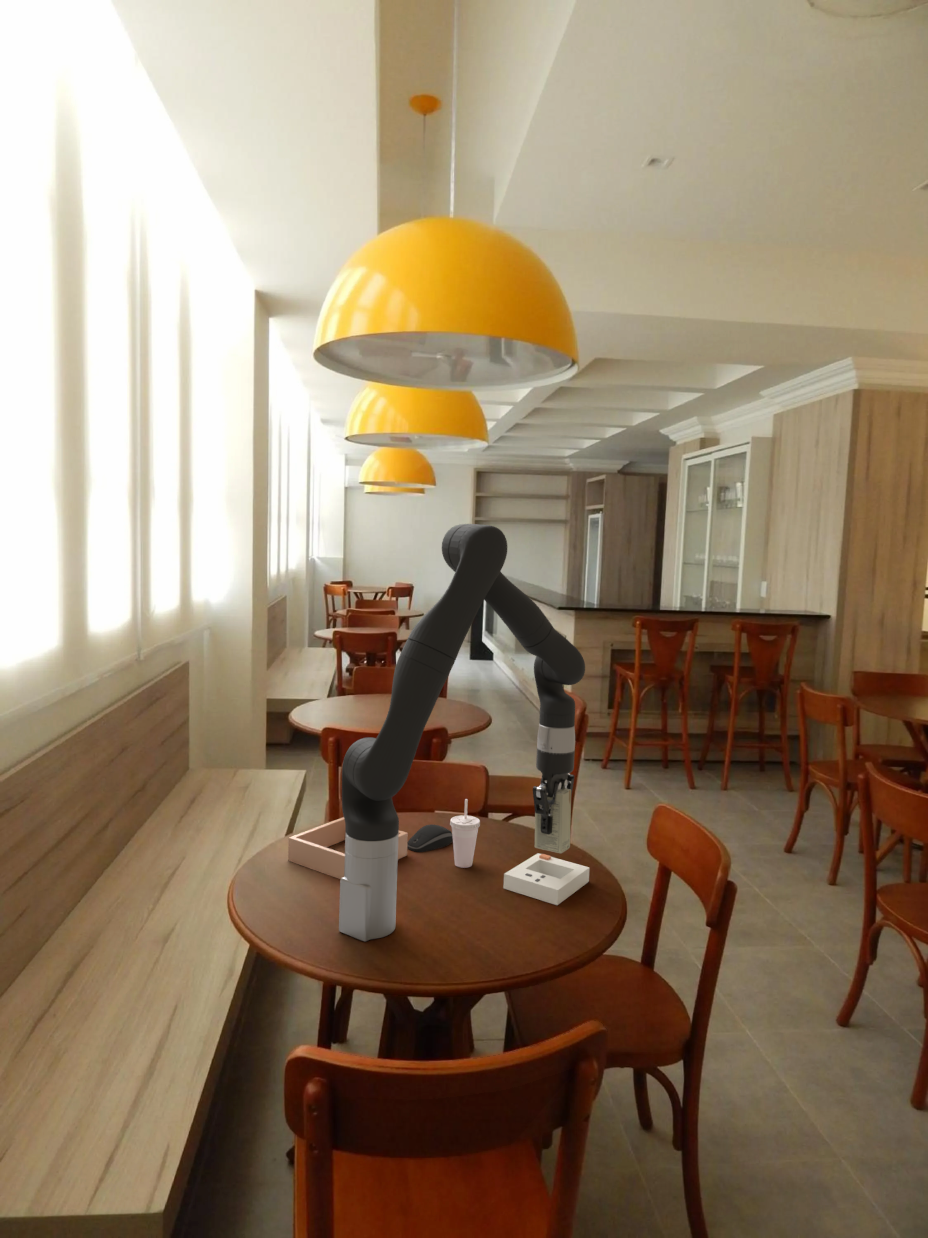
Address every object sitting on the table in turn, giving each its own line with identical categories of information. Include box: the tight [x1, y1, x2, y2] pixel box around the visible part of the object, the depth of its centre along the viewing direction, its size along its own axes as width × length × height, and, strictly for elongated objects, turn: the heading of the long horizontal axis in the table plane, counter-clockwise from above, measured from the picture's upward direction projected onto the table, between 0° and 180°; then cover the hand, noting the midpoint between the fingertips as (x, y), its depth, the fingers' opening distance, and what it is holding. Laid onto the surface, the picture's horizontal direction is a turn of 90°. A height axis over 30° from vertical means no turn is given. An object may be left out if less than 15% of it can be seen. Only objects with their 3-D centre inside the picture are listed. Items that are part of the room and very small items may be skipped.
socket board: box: [502, 852, 590, 906], centre depth 160 cm, size 14×12×4 cm
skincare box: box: [534, 789, 572, 854], centre depth 160 cm, size 6×4×12 cm
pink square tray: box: [287, 816, 409, 880], centre depth 170 cm, size 18×17×5 cm
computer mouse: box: [407, 824, 453, 853], centre depth 180 cm, size 7×12×4 cm, turn 138°
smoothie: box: [449, 798, 481, 869], centre depth 168 cm, size 6×6×14 cm
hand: (552, 829), depth 160 cm, fingers closed on skincare box, 4 cm apart
